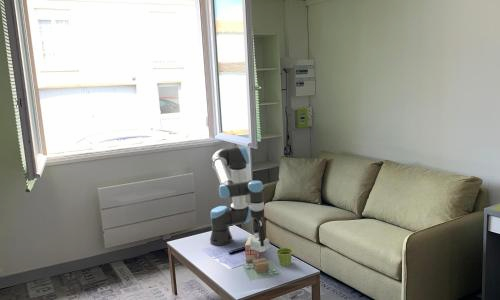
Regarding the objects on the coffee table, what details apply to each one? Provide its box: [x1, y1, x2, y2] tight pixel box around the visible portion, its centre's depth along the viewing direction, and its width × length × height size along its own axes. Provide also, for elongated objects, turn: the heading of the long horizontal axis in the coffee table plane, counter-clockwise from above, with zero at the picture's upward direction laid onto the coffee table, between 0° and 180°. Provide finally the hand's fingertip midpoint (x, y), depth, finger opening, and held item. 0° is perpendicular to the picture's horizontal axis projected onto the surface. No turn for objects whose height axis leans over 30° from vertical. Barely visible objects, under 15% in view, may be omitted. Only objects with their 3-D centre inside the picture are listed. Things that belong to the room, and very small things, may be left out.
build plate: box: [241, 259, 283, 281], centre depth 235 cm, size 20×18×2 cm
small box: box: [250, 237, 271, 252], centre depth 232 cm, size 8×8×5 cm
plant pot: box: [275, 247, 294, 267], centre depth 240 cm, size 9×9×9 cm
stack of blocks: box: [244, 235, 262, 263], centre depth 255 cm, size 21×6×12 cm, turn 170°
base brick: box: [252, 257, 269, 273], centre depth 234 cm, size 7×7×5 cm
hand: (259, 247), depth 232 cm, fingers closed on small box, 10 cm apart
